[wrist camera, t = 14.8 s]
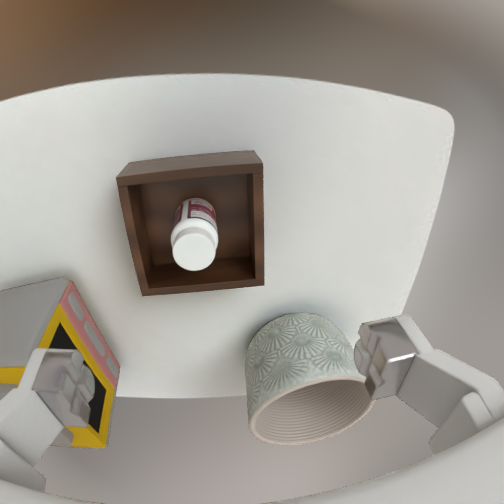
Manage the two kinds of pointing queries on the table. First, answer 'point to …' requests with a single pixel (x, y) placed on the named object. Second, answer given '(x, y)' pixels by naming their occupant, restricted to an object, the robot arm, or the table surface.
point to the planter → (302, 381)
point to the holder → (226, 209)
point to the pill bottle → (194, 234)
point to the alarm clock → (58, 337)
